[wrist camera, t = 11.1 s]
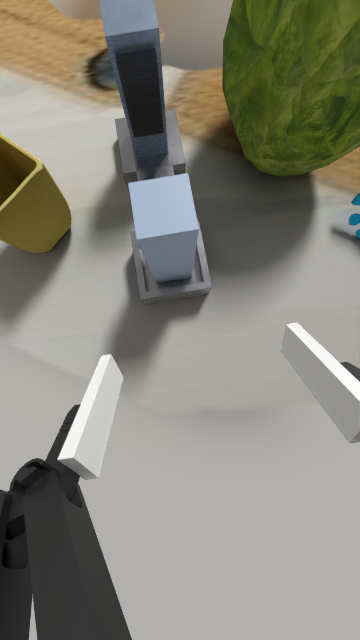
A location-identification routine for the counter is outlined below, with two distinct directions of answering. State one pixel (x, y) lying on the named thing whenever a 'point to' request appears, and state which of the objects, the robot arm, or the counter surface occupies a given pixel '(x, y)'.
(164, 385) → the counter surface
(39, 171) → the flower pot
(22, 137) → the counter surface
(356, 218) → the blue splash shape
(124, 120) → the grey piece
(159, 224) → the blue block
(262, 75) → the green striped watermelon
